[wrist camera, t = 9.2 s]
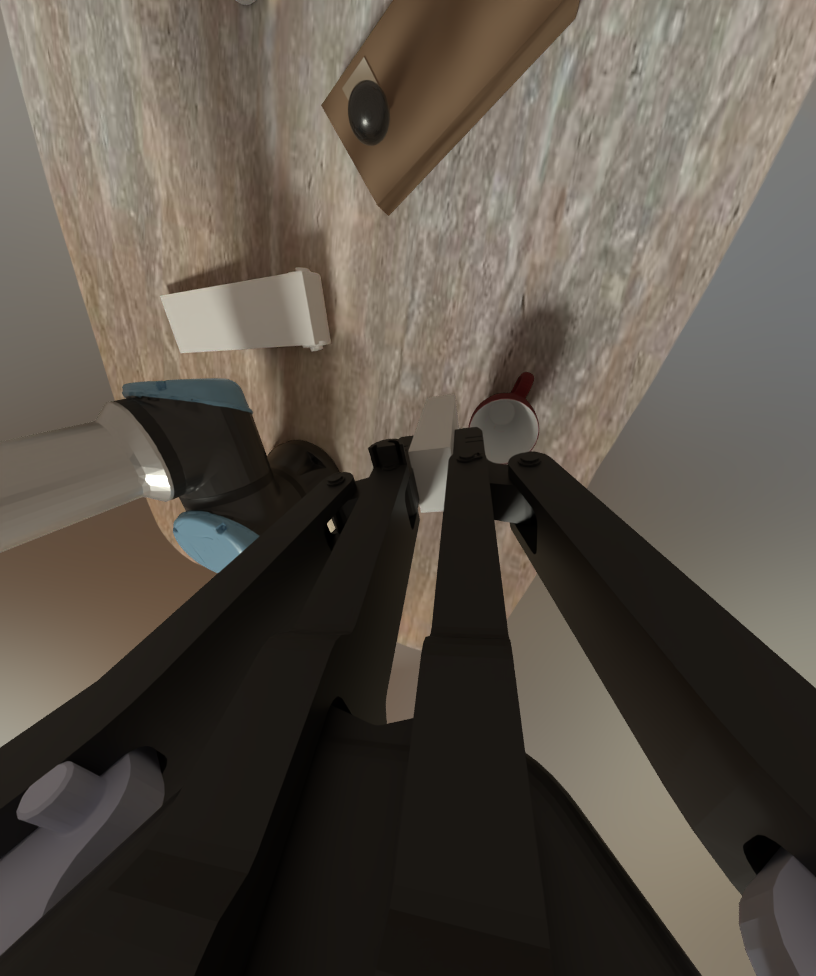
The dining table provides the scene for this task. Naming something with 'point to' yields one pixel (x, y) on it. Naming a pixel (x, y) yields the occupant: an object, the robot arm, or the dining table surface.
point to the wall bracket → (251, 314)
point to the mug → (507, 422)
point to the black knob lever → (368, 112)
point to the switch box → (438, 79)
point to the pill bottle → (245, 2)
